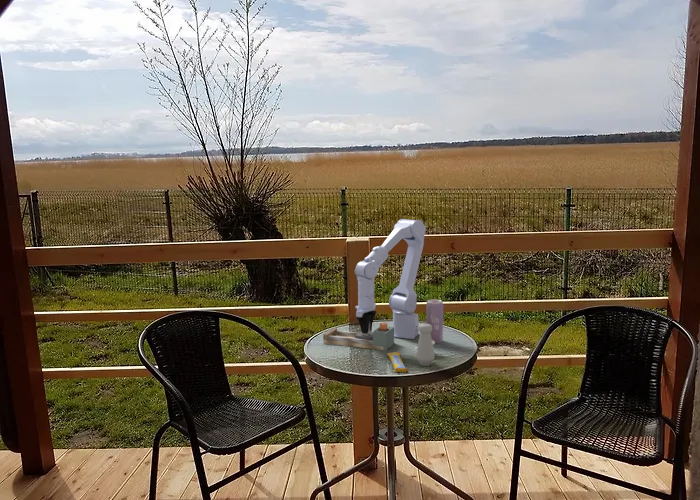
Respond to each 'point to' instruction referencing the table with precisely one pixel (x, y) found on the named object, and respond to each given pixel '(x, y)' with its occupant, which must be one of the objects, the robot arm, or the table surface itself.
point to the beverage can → (435, 319)
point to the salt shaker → (425, 346)
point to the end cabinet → (383, 338)
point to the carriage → (365, 335)
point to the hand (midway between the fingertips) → (366, 332)
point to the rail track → (347, 339)
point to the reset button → (383, 326)
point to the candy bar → (397, 362)
